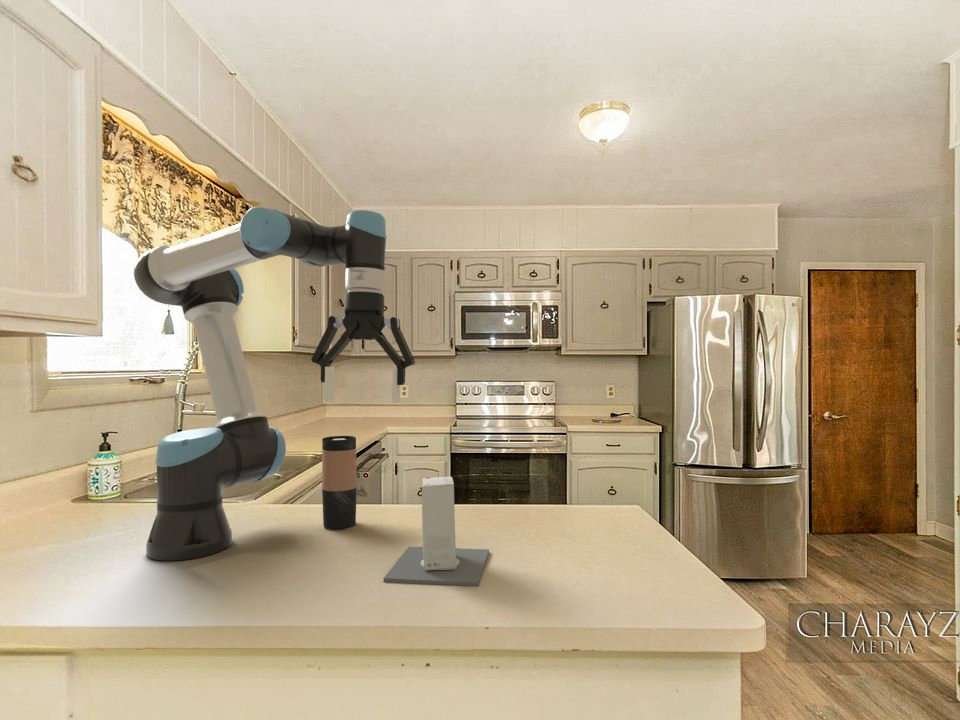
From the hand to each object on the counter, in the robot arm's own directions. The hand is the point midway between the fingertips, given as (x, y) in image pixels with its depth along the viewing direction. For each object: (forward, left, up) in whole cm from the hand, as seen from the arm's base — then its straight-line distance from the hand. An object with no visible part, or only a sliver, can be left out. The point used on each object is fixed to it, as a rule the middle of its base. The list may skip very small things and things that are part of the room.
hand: (362, 401), depth 105 cm
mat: (+17, -6, -30) cm, 34 cm away
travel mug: (-11, +16, -30) cm, 36 cm away
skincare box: (+16, -6, -29) cm, 34 cm away
